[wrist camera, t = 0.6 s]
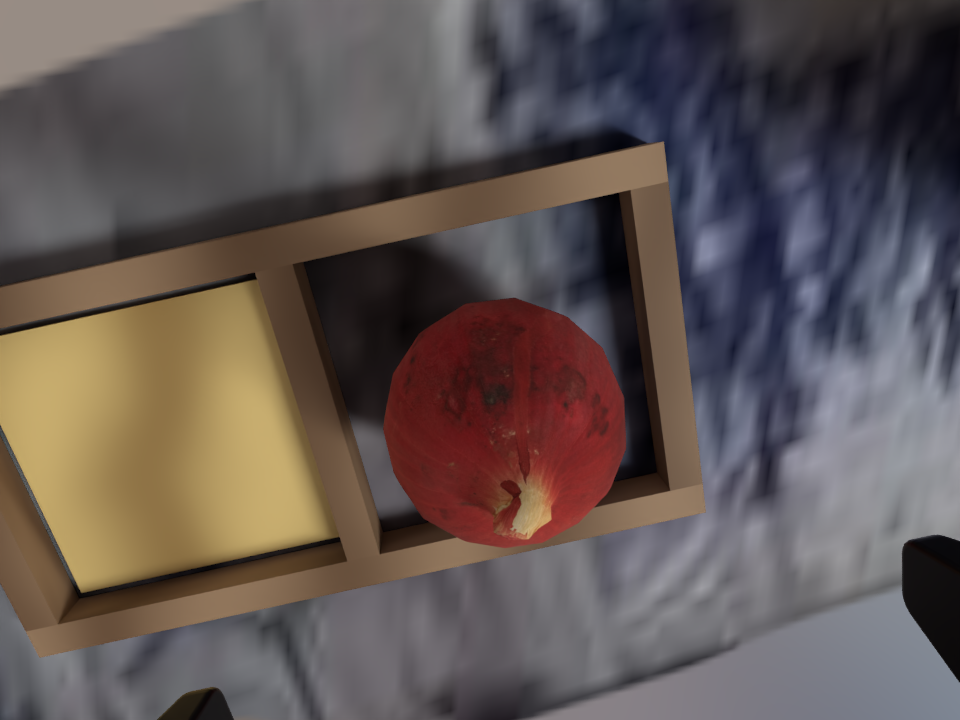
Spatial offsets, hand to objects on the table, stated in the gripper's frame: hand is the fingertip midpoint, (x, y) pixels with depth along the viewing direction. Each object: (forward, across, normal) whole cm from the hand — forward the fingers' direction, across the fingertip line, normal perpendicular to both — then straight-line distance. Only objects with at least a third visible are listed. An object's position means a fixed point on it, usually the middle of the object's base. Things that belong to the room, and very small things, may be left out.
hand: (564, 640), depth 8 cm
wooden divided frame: (+11, +5, 0) cm, 12 cm away
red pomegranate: (+12, 0, 0) cm, 12 cm away
